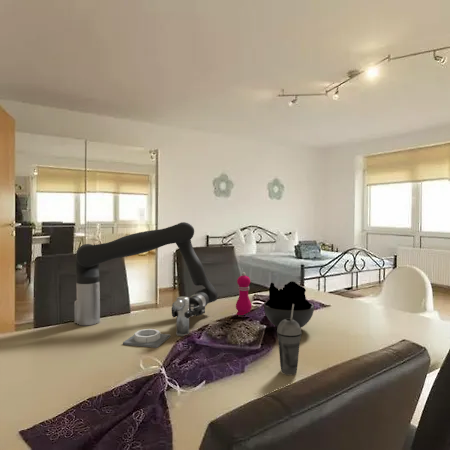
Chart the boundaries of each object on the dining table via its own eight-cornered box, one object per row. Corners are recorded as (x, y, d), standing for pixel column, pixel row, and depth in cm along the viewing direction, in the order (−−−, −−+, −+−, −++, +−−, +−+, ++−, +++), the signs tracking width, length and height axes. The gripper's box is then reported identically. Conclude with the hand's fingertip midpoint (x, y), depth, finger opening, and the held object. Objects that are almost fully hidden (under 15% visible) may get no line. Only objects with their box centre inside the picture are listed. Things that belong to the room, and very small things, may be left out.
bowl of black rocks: (318, 325, 152) (318, 280, 151) (307, 340, 134) (308, 289, 133) (272, 319, 160) (272, 276, 160) (256, 333, 142) (256, 284, 141)
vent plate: (122, 344, 129) (122, 336, 129) (138, 333, 141) (138, 326, 141) (156, 347, 126) (156, 339, 126) (170, 336, 138) (170, 329, 138)
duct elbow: (170, 338, 135) (170, 301, 135) (179, 331, 144) (178, 295, 143) (183, 340, 134) (183, 301, 133) (191, 332, 143) (191, 296, 142)
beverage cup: (273, 366, 111) (274, 301, 110) (297, 366, 111) (297, 300, 111) (279, 377, 103) (279, 307, 103) (304, 376, 104) (305, 306, 103)
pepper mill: (250, 318, 161) (250, 273, 161) (234, 317, 163) (234, 273, 162) (252, 314, 168) (252, 271, 168) (237, 313, 170) (237, 270, 169)
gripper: (178, 294, 156) (162, 304, 139) (211, 296, 153) (198, 306, 136) (178, 312, 156) (162, 323, 140) (211, 314, 153) (198, 326, 136)
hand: (180, 315), depth 138 cm, fingers closed on duct elbow, 4 cm apart
